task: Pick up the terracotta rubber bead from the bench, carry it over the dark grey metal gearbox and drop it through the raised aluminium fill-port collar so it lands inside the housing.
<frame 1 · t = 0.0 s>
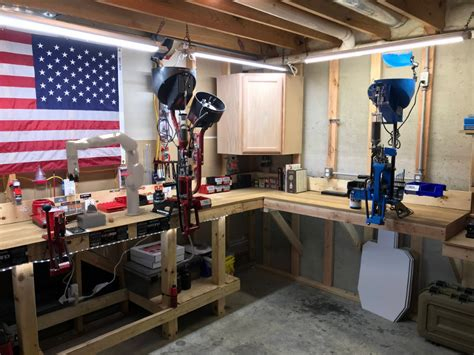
hand: (73, 181, 275), 31 cm above the workbench, fingers open, 9 cm apart
gearbox: (91, 225, 273), on the workbench
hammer: (77, 222, 286), on the workbench
bead: (111, 221, 284), on the workbench
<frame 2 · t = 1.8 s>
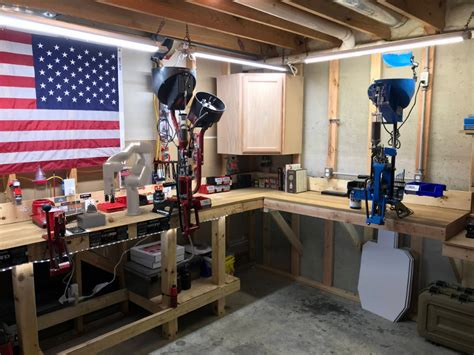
hand: (109, 202, 282), 15 cm above the workbench, fingers open, 9 cm apart
nothing on the workbench moved.
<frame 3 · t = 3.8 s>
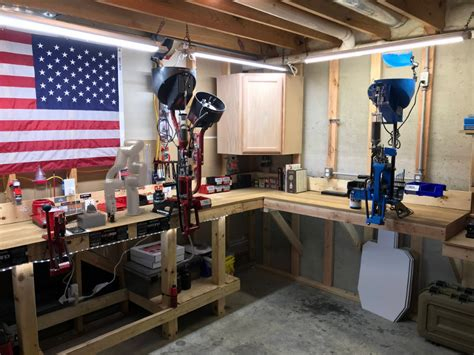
hand: (111, 221, 284), 0 cm above the workbench, fingers closed on bead, 3 cm apart
bead: (111, 221, 284), on the workbench, touching gripper
everything else where it was.
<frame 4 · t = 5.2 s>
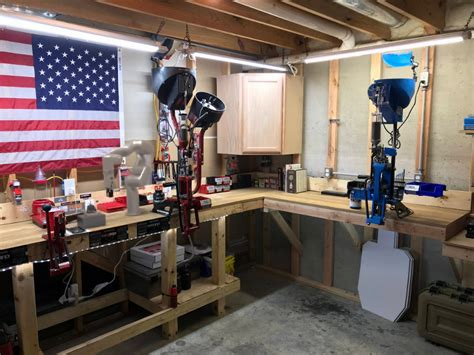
hand: (109, 196, 282), 19 cm above the workbench, fingers closed on bead, 3 cm apart
bead: (109, 197, 282), point 18 cm above the workbench, touching gripper
everything else where it was.
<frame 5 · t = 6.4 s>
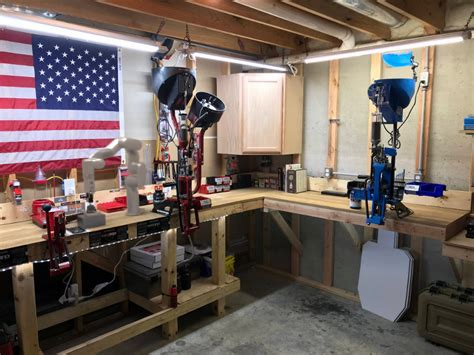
hand: (89, 202, 271), 17 cm above the workbench, fingers closed on bead, 3 cm apart
bead: (89, 202, 271), point 17 cm above the workbench, touching gripper
everything else where it was.
when the fingers open (12 cm above the workbench, at t = 7.1 s): bead drops 11 cm, resting on gearbox.
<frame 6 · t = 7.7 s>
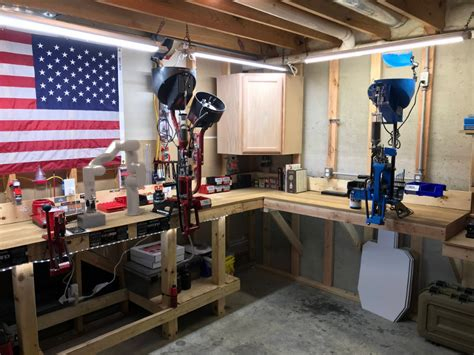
hand: (90, 207, 272), 13 cm above the workbench, fingers open, 9 cm apart
bead: (91, 224, 273), point 1 cm above the workbench, touching gearbox
everything else where it was.
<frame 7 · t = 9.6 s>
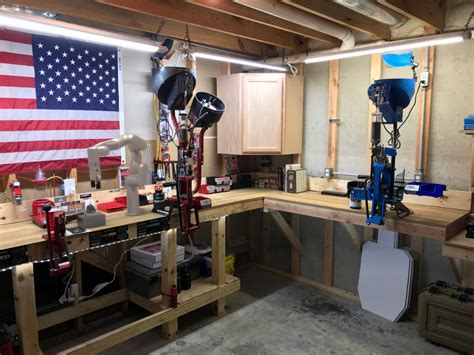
hand: (95, 188, 273), 27 cm above the workbench, fingers open, 9 cm apart
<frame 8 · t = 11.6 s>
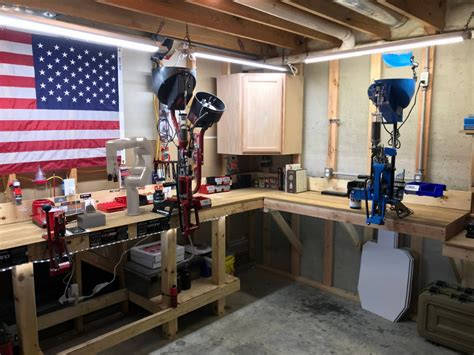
hand: (112, 181, 280), 30 cm above the workbench, fingers open, 9 cm apart
at the end: bead inside the target area on the gearbox (0.0 cm from its centre), point 0.8 cm above the gearbox's base; the gripper is holding nothing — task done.
